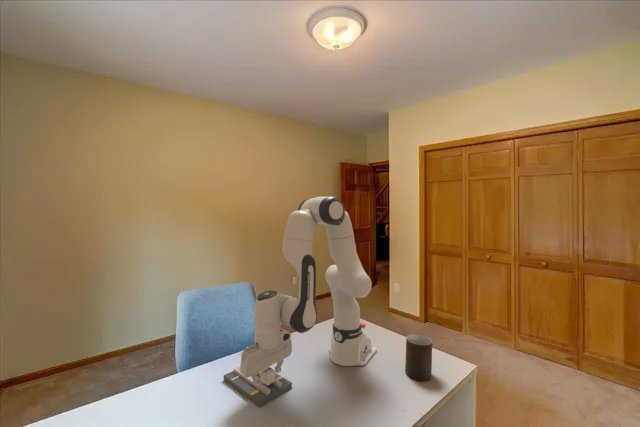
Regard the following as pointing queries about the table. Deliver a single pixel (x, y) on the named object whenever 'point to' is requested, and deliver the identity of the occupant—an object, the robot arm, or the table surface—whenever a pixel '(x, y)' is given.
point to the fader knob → (267, 376)
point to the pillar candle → (418, 357)
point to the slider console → (257, 387)
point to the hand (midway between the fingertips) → (267, 377)
